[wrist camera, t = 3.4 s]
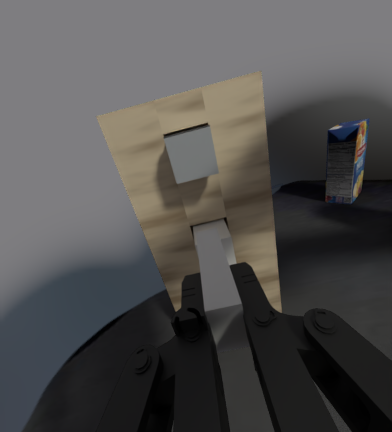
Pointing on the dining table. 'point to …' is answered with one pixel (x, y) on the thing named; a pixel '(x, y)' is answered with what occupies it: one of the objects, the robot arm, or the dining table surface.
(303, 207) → the dining table surface
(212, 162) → the top banded button
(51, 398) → the dining table surface
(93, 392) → the dining table surface
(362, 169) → the juice carton
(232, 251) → the pale grey cube
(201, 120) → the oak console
